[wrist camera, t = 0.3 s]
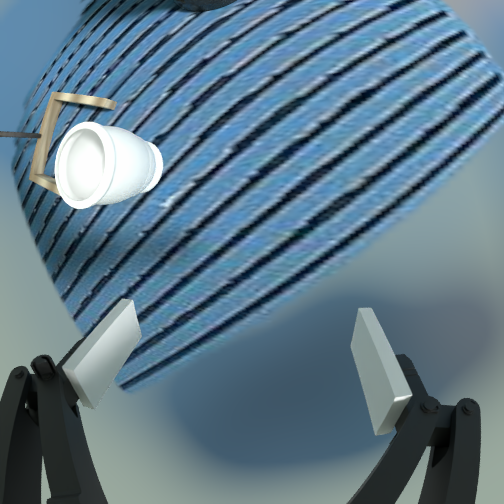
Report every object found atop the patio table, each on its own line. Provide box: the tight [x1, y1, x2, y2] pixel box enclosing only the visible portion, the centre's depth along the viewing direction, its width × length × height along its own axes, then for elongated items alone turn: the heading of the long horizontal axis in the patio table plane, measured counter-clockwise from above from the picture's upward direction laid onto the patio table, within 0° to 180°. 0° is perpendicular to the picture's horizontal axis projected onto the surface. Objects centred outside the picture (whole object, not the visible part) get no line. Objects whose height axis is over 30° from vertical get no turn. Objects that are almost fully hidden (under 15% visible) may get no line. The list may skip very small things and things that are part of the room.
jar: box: [55, 122, 163, 209], centre depth 34 cm, size 11×10×15 cm
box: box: [0, 92, 117, 196], centre depth 33 cm, size 18×19×18 cm
